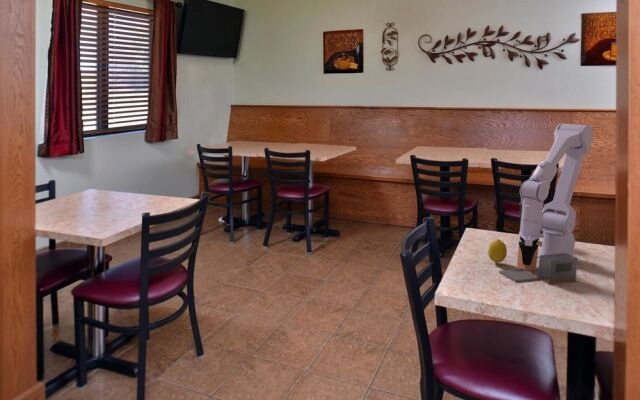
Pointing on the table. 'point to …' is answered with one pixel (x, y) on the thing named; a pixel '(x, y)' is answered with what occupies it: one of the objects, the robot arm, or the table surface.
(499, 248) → the lemon
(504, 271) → the mat
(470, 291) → the table surface
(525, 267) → the terracotta block
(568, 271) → the parts unit
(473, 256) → the table surface
